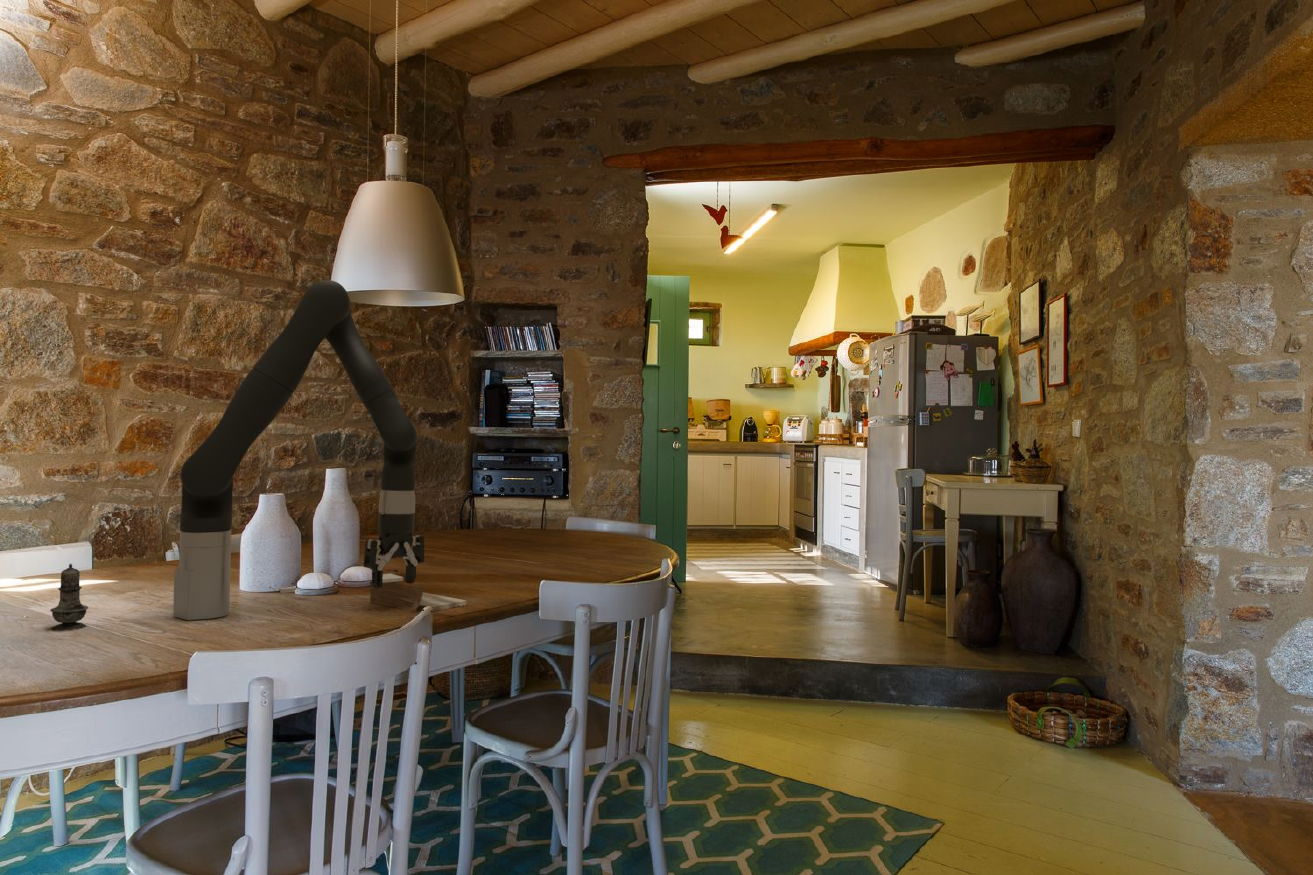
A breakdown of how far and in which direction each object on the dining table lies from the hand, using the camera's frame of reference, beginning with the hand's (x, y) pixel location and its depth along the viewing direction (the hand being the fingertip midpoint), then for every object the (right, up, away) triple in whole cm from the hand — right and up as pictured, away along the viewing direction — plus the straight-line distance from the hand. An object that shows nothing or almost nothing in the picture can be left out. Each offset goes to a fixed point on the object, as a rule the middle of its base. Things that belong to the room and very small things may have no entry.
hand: (393, 585), depth 186 cm
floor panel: (+4, -5, +6) cm, 8 cm away
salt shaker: (-53, -4, -26) cm, 59 cm away
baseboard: (-22, -5, +26) cm, 35 cm away
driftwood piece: (0, -5, 0) cm, 5 cm away
